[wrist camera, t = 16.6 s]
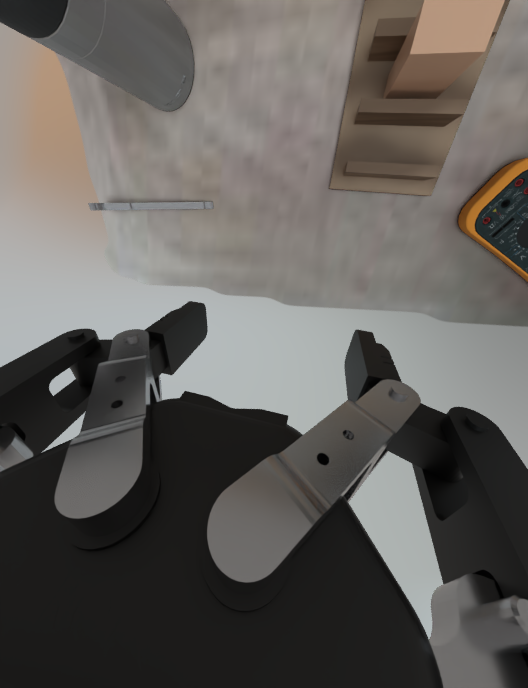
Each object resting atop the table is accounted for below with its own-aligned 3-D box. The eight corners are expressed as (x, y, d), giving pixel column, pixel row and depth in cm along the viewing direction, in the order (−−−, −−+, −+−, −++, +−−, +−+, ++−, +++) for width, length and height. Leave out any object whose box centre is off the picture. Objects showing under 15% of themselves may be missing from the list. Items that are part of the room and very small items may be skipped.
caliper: (114, 209, 42) (84, 211, 36) (112, 203, 41) (81, 203, 36) (214, 208, 37) (196, 209, 32) (213, 201, 37) (194, 200, 32)
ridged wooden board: (426, 195, 30) (446, 194, 25) (329, 188, 32) (329, 186, 27) (529, -63, 19) (596, -152, 15) (374, -49, 22) (388, -122, 17)
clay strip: (428, 106, 25) (484, 51, 16) (381, 106, 26) (409, 54, 17) (439, 72, 24) (507, -8, 15) (389, 73, 24) (424, -2, 15)
